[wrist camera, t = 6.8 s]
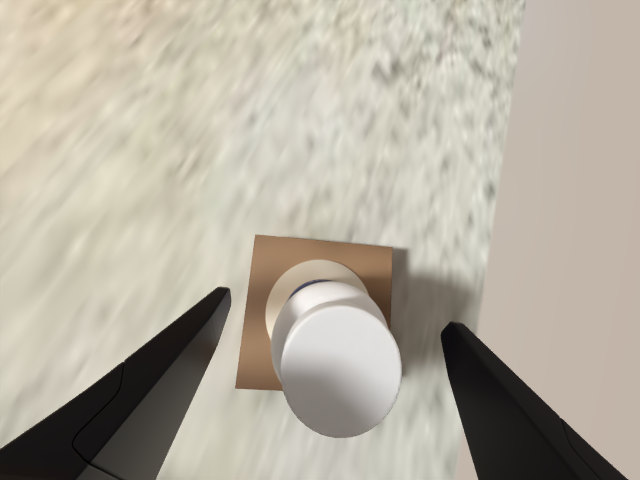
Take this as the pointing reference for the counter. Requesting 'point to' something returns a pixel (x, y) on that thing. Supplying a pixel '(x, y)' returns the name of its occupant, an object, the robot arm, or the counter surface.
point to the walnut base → (286, 276)
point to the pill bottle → (335, 358)
